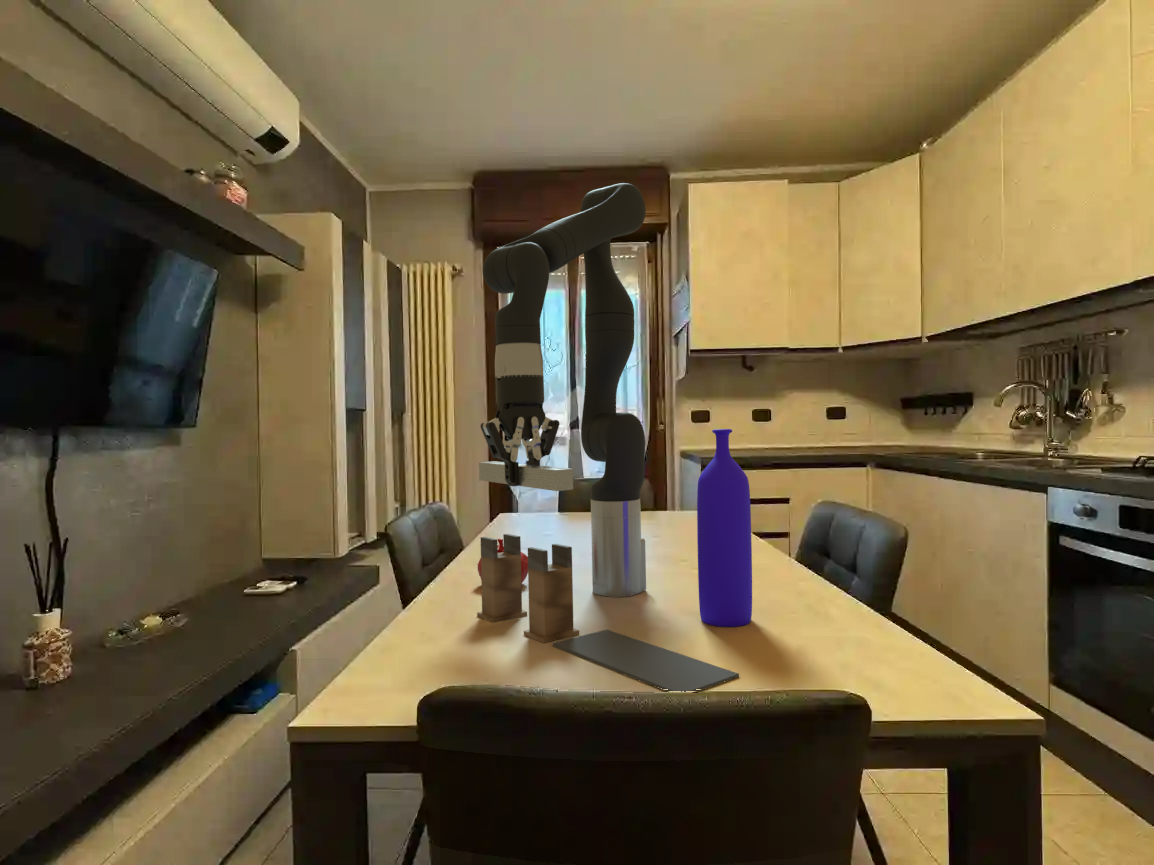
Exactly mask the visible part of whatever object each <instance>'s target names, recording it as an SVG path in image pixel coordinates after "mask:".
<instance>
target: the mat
mask: <svg viewBox="0 0 1154 865" xmlns="http://www.w3.org/2000/svg"><path fill="white" fill-rule="evenodd" d="M552 646H553V647H554V648H558V649H560V650H562V651H565V652H566V653H569V654H571V655H575V656H577V657H580V658H581V659H585V660H587V661H589V662H592V663H595V664H597V665H600V666H603V667H604V668H607V669H609V670H612V671H614V672H617V673H619V674H621V675H624V674H625V676H627V677H629V676H630V677H629V678H632V679H634V678H635V680H636V681H639V680H640V681H639V682H642V683H644V682H645V683H644V684H646V685H649V684H650V685H649V686H651V685H653V686H652V687H654V686H656V687H659V688H662V689H668V690H665V692H666V691H681V692H682V691H684V692H686V691H698V692H700V691H702V690H696V689H704V690H706V689H705V688H707V689H709V688H711V687H710V686H712V687H714V686H713V685H715V686H717V685H716V684H718V685H720V684H719V683H721V684H723V683H722V682H724V681H726V682H728V681H727V680H729V681H731V680H730V679H732V680H734V679H733V678H735V679H737V678H736V677H738V678H739V677H740V673H738V672H735V671H732V670H729V669H726V668H723V667H721V666H718V665H714V664H710V663H708V662H705V661H702V660H699V659H697V658H694V657H690V656H687V655H684V654H683V653H679V652H677V651H674V650H673V651H672V650H669V649H667V648H663V647H660V646H657V645H654V644H651V643H649V642H645V641H643V640H639V639H637V638H634V637H631V636H628V635H626V634H625V635H624V634H622V633H618V632H617V631H613V630H610V629H604V630H599V631H596V632H591V633H587V634H584V635H578V636H575V637H572V638H567V639H562V640H559V641H555V642H553V643H552ZM724 683H725V682H724ZM656 687H655V688H656ZM708 687H709V688H708ZM659 688H658V689H659Z"/></svg>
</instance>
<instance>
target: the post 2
mask: <svg viewBox="0 0 1154 865" xmlns="http://www.w3.org/2000/svg"><path fill="white" fill-rule="evenodd" d="M548 551H549V550H546V549H541V548H537V547H533V546H532V547H527V557H528V574H527V576H528V577H527V580H528V581H527V583H528V585H527V586H528V622H529V623H528V624H529V626H528V627H529V629H526V630H523V636H525V637H528V638H531V639H533V640H535V641H539V642H540V643H543V644H546V643H549V642H553V641H558V640H563V639H566V638H569V637H573V636H579V635H580V630H579V629H577V628H574V595H573V594H574V592H573V591H574V589H573V587H574V586H573V547H572V546H570V545H569V546H568V545H564V544H561V543H551V563H549V558H548V557H549V555H548V554H549V552H548Z"/></svg>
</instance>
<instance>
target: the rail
mask: <svg viewBox="0 0 1154 865" xmlns="http://www.w3.org/2000/svg"><path fill="white" fill-rule="evenodd" d="M518 465H519V466H518V473H519V485H518V486H517V487H523V488H525V487H526V488H530V489H531V488H532V489H540V490H546V491H553V492H561V491H562V492H563V491H570V490H574V469H573V468H569V467H560V466H559V467H558V466H557V467H556V466H550V465H549V466H548V465H547V466H545V465H540V466H539V465H528V464H525V463H518ZM478 476H479V477H478V480H479V481H482V482H489V483H496V484H501V485H502V484H504V485H508V482H506V480H505V463H504V461H495V460H493V461H481V462H480V461H479V462H478Z"/></svg>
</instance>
